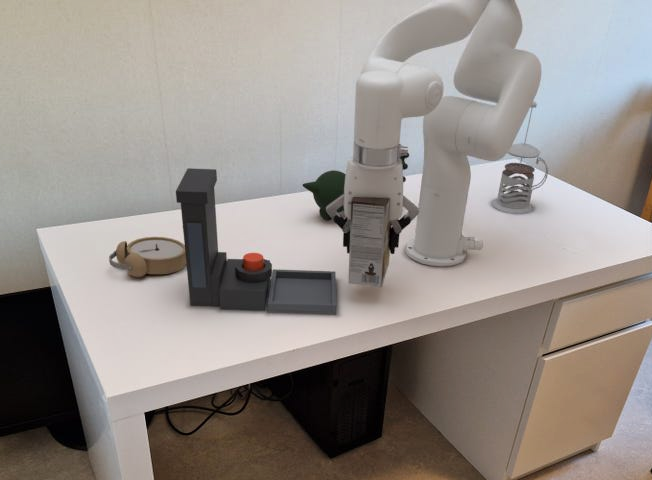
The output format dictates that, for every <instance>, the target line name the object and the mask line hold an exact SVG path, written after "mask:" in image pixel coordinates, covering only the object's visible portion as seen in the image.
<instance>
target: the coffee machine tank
mask: <svg viewBox="0 0 652 480" xmlns="http://www.w3.org/2000/svg"><path fill="white" fill-rule="evenodd" d="M217 181H218V173H217V169H214V168H213V169H212V168H187V169H186V170H185V172H184V175H183V176H182V178H181V180H180V182H179V184H178V186H177V187H176V190H175V196H176V197H175V199H176V203H178V204H180V210H181V222H182V234H183V244H184V245H185V254H186V265H185V266H186V274H187V285H188V295H189V306H190V307H210V308H211V307H213V308H215V307H216V308H220V294H219V288H220V285H221V281H222V277H223V274H224V270H225V267H226V263H227V260H228V256H227V255H228V254H227V252H226V251H219V242H218V226H217V211H216V209H217V208H216V195H215V186H216V184H217Z"/></svg>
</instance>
